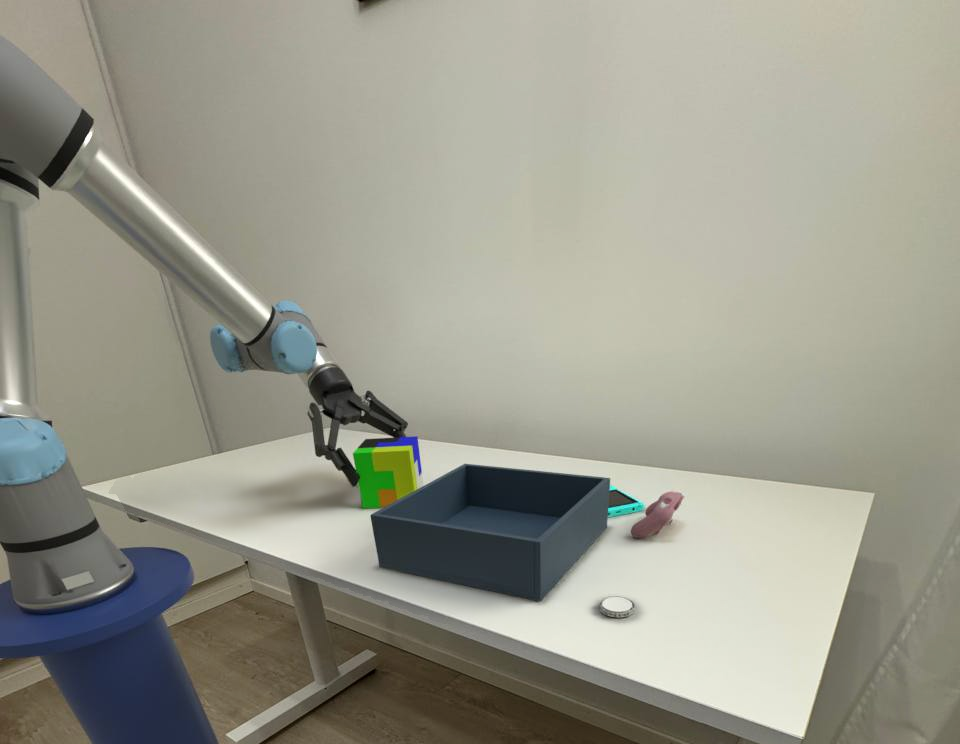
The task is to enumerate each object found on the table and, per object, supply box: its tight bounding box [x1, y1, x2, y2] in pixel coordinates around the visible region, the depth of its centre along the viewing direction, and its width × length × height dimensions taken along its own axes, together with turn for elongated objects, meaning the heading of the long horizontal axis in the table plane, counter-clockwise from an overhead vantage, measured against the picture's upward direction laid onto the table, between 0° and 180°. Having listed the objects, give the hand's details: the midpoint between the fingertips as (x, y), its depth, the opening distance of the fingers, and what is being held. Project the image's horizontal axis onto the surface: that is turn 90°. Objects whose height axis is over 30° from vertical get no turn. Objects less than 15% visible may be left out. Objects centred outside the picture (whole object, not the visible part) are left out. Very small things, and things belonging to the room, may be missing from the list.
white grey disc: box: [599, 596, 635, 618], centre depth 66 cm, size 4×4×1 cm
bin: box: [370, 463, 611, 602], centre depth 82 cm, size 26×26×8 cm
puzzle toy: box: [352, 436, 424, 509], centre depth 103 cm, size 10×10×10 cm
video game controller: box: [630, 489, 685, 539], centre depth 84 cm, size 10×5×7 cm, turn 151°
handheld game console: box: [608, 484, 645, 518], centre depth 98 cm, size 10×16×1 cm, turn 19°
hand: (386, 472), depth 103 cm, fingers open, 13 cm apart
